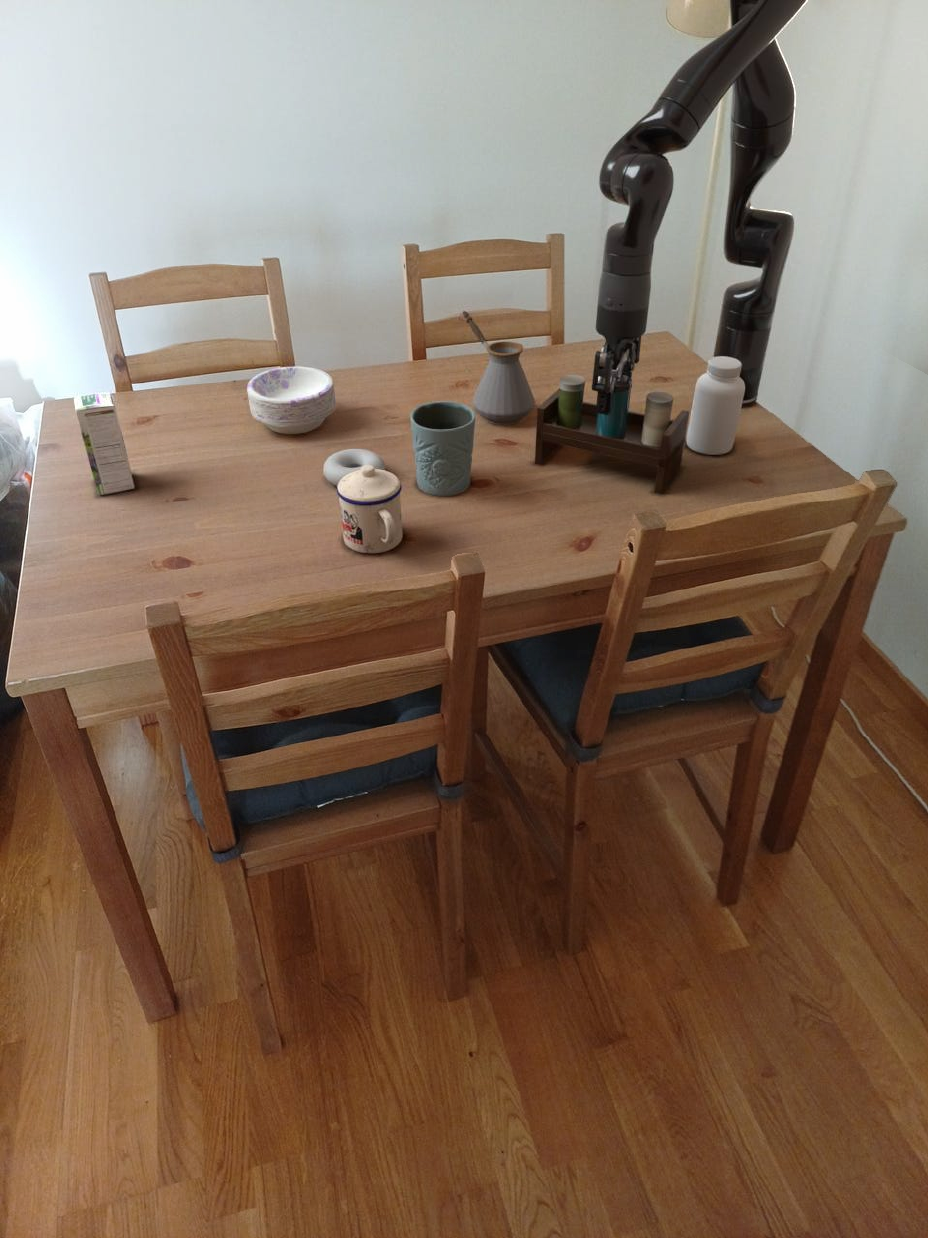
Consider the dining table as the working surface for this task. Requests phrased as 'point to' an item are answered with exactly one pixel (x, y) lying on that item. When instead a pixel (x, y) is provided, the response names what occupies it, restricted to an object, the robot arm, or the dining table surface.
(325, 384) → the paper bowls
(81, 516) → the dining table surface
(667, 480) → the spice rack
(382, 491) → the teacup with lid
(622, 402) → the spice jar
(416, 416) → the teal embossed cup
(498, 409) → the coffee pot
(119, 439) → the syrup box
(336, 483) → the donut
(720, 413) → the pill bottle
